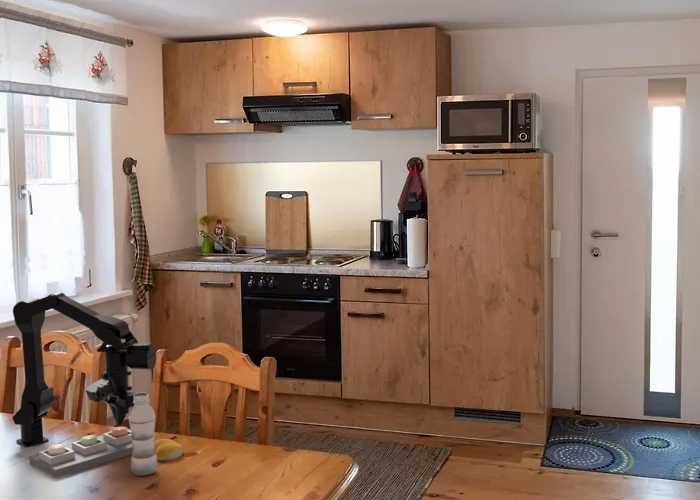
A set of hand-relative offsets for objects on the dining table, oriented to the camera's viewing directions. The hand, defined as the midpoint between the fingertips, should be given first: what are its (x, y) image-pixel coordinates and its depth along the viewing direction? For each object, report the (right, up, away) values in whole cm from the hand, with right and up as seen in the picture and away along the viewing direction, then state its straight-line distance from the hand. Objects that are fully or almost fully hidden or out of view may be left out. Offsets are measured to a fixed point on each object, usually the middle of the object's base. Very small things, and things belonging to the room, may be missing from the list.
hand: (119, 424), depth 223 cm
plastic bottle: (+11, -9, -18) cm, 23 cm away
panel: (-6, -7, -6) cm, 11 cm away
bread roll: (+14, -7, -5) cm, 16 cm away
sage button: (-6, -4, -6) cm, 9 cm away
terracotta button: (0, -3, 0) cm, 3 cm away
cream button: (-12, -5, -13) cm, 18 cm away
